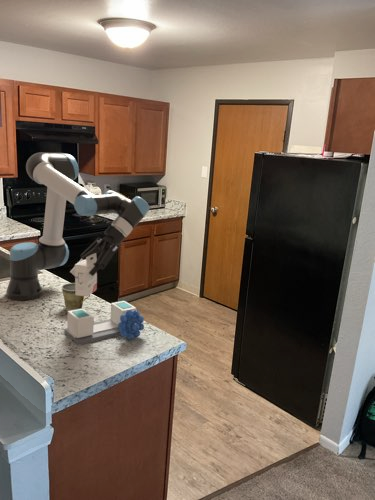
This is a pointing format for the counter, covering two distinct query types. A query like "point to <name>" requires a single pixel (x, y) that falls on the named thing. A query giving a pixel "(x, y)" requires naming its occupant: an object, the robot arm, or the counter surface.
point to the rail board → (95, 324)
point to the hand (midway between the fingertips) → (77, 277)
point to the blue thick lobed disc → (131, 324)
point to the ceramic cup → (72, 297)
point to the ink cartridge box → (80, 270)
